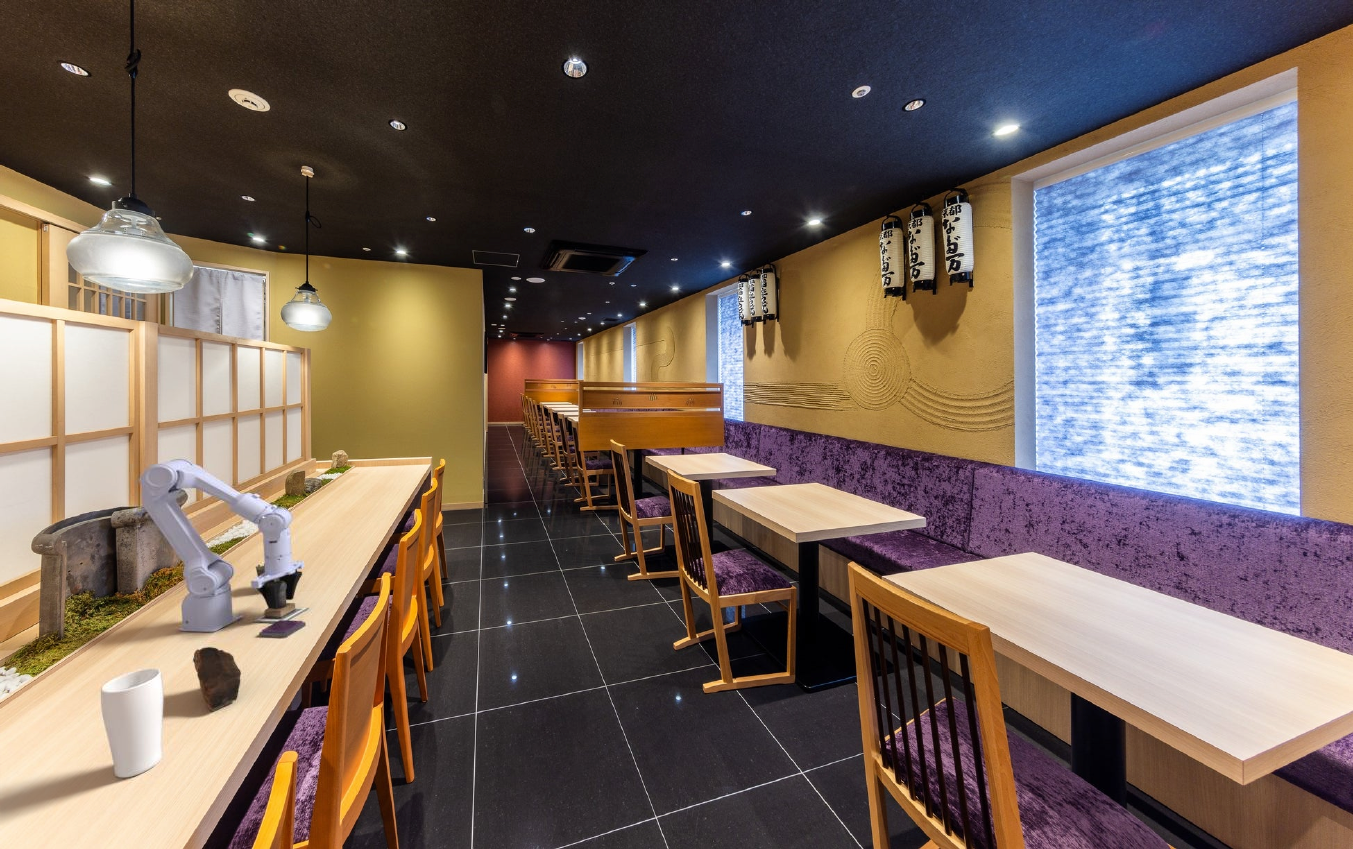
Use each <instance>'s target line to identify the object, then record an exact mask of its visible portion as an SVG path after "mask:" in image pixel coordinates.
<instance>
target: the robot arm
mask: <svg viewBox="0 0 1353 849" xmlns="http://www.w3.org/2000/svg"><path fill="white" fill-rule="evenodd" d="M138 482H139V484H140V486H141V504H142V506H143V508H144V509H145V511H146V512H147V513H148V515H149V516H150V518H151V519H152V521H153V523H155V525H156V527H157V528H158V529H159V530H160V532H161V533H162V535H163V536H164V537H165V539H166V540H167V542H168V543H169V544H170V546H171V547H172V549H173V550H174V551H175V553H176V555H177V556H178V557H179V559H180V560H181V562H182V563H183V564H184V567H183V571H182V576H183V578H184V579H185V582H186V583H185V584H186V590H187V591H188V593H187V595H186V596H184V598H183V600H182V602H181V618H182V627H180V628H179V631H180V632H201V633H203V632H205V633H206V632H207V633H214V632H217V631H219V630H221V629H222V628H224V627H227V626H229V625H230V624H233V623H235V622H237V621H238V620H241V619H242V618H243V615H233V598H232V585H231V584H230V583H231V582H230V580H231V579H232V578H233V577H234V575H235V567H234V566H233V565H232V564H231V563H230V562H229V561H226V560H224V559H223V558H222V557H221V555H220V554H218V553H215V552H213V551H212V550H210V548H209V547H208V545H207V544H206V543H205V541H204V540H203V538H202V537H201V535H200V534H199V532H198V531H197V530H196V527H195V526H194V525H193V524H192V522H191V520H190V519H189V518H188V517H187V514H185V512H184V511H183V509H182V508H181V507H180V504H179V503H178V501H177V500H176V499H177V497H178V496H179V493H180V492H181V490H182V489H197V490H199V491H201V492H203V493H205V494H208V495H209V496H211V497H214V498H216V499H218V500H220V501H222V502H224V503H226V504H228V505H229V508H230V511H231V512H232V513H234V514H236V515H238V516H240V517H242V518H243V519H245V520H247V521H249V522H251V523H253V524H254V525H257V528H258V531H260V533H261V534H262V537H263V540H262V541H263V542H262V544H263V559H264V560H263V562H264V563H265V572H264V573H263V574H262V575H260V576H259V577H258V576H257V577H256V578H254V579H252V580H251V581H250V584H251V585H250V586H251V589H256V590H257V591H258V592H259V593H260V594H261V596H262V597H263V599H264V600H265V604H266V606H267V609H268V608H277V607H278V594H279V589H280V586H281V584H282V583H276V582H274V580H276V579H278V578H279V580H280V581H284V582H285V583H286V584H287V588H286V601H292V600H294V598H295V593H296V589H297V587H298V586H297V585H298V583H299V581H300V579H301V578H302V576H303V572H302V571H301V570H302V569H304V568H305V561H304V560H296V561H293V557H292V540H291V537H292V536H291V531H290V525H291V524H292V522H293V519H294V518H293V514H292V513H291V511H289V510H288V509H287V508H285V507H278V505H276V504H271V503H269V502H268V501H266V500H264V499H262V498H260V497H261V495H260V494H258V493H254V494H253V493H251V492H246V493H241V492H239V491H237V490H235V489H234V488H233V487H231V485H228V484H226V483H225V482H223V481H222V480H220V479H218V478H217V477H215V476H214V475H212V474H211V473H209V472H208V471H206V470H205V469H204V468H203V467H202V466H200V465H198V464H194V463H192V461H190V460H188V459H186V458H185V459H184V458H175V459H171V460H169V461H166V462H165V461H164V462H162V463H155V464H151V465H150V466H148V467H147V468H145V470H144V471H143V472H142V474H141V475H140V477H139V479H138ZM300 569H301V570H300ZM298 570H300V571H298Z"/></svg>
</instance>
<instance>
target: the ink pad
mask: <svg viewBox="0 0 1353 849" xmlns="http://www.w3.org/2000/svg"><path fill="white" fill-rule="evenodd" d="M306 626H307V625H306V622H305V621H303V620H279V621H277V622H276V623H271V624H270V625H268V626H267V627H264V628H263V629H261V631H259V633H258V637H259V636H260V637H261V638H262V637H263V638H265V637H266V638H284V637H285V639H287V638H288V637H289V636H291V635H293V634H294V633H296V632H299V630H301V629H303V628H304V627H306Z"/></svg>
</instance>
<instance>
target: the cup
mask: <svg viewBox="0 0 1353 849" xmlns="http://www.w3.org/2000/svg"><path fill="white" fill-rule="evenodd" d="M255 570H256V576H257V577H259V576H260V575H262V574H263V573H264V572H265V562H264V563H263V565H260V564H258V565H257V566H256V565H255ZM277 581H280V580H279V578H278V579H276V580H274V582H277Z"/></svg>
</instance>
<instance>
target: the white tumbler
mask: <svg viewBox="0 0 1353 849" xmlns="http://www.w3.org/2000/svg"><path fill="white" fill-rule="evenodd" d="M163 681H164V680H163V675H162V670H160V669H159V668H143V669H139V670H134V671H131V672H128V673H125V674H122V675H119V676H117V677H114V678H113V679H111V680H109V681H108V682H106V683H104V684H103V685H102V687H101V688H100V705H101V706H100V707H101V708H100V709H101V716H102V720H103V724H104V728H105V733H106V736H107V741H108V745H109V749H110V754H111V758H112V759H111V760H112V762H113V770H114V775H115V776H116V777H117V778H123V779H124V778H131V777H134V776H137V775H141V774H143V773H145V772H146V771H149V770H151V769H152V768H154V767H155V766H156V765H157V764H158V763H159V762H160V761H161V760H162V758H163V725H164V724H163V723H164V722H163V721H164V720H163V719H164V701H165V700H164V698H165V697H164V682H163Z"/></svg>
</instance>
